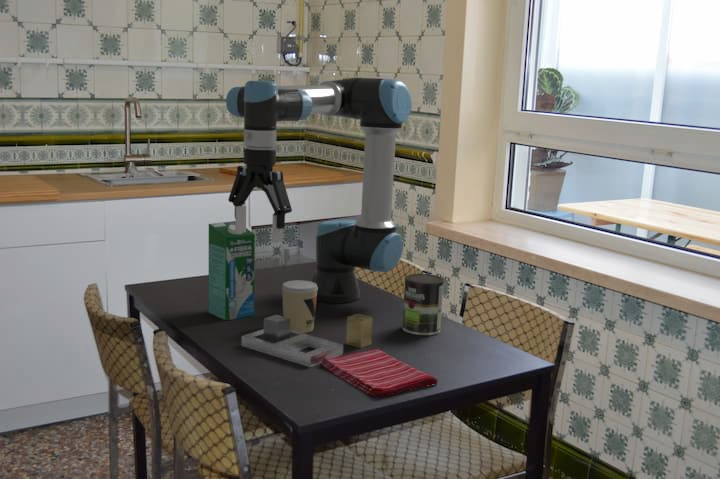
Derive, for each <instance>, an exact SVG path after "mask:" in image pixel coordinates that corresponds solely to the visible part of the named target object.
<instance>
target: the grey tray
mask: <svg viewBox="0 0 720 479" xmlns="http://www.w3.org/2000/svg"><path fill="white" fill-rule="evenodd" d="M241 347H243V348H247V349H250V350H253V351H257V352H260V353H263V354H267V355H270V356H272V357H276V358H279V359H282V360H285V361H288V362H292V363H295V364H298V365H301V366H305V367H307V368H313V367H315V366H318V365H321V364H320V363H322V359H323V358H336V357H341V356H344V344H343V343H342V344H341V343H339V342H335V341H331V340H328V339H325V338H321V337H317V336H314V335H311V334H307V333H301V332H297V331H294V330H290V338H289V339H286V340H283V341H280V342H277V343H270V342H267V341H264V328H263V329H259V330H256V331H253V332H250V333H246V334H244V335H241ZM308 348H311V349H314V350H311V351H308V352H303V351H302V350H304V349H308Z"/></svg>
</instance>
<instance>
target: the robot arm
mask: <svg viewBox="0 0 720 479" xmlns="http://www.w3.org/2000/svg"><path fill="white" fill-rule="evenodd" d="M410 93H411V92H410V90H409V88H408V87H407V86H406V84H405V83H404V82H403V81H401V80H398V79H392V78H374V77H371V78H369V77H368V78H367V77H350V78H343V79H342V78H341V79H335V80H334V79H333V80H325V81H322V82H320V83H319V84H310V85H309V84H308V85H307V84H306V85H302V84H301V85H280V86H279V85H278V84H277V83H276V81H274V80H273V81H272V80H269V81H268V80H247V81H246V83H245V85H244V86H242V85H241V86H233V87H232V88H231V89H229V91H228V92H227V94H226V97H225V98H226V99H225V106H226V108H227V111H228V113H230V114H231V116H233V117H238V118H239V117H240V118H243V124H244V125H243V130H244V131H243V145H244V146H245V147H246V148H244V149H243V164H244V165H237V168H236V176H235V179H234V181H233V184H232V187H231V190H230V193H229V196H228V202H229V203H232V204H233V206H234V221H235V233H243V232H246V228H247V205H246V204H247V203H246V201H247V200H248V198H249V196H250V195H251V193H252V191H253V190H254V189H255V188H257V189H261V190H262V191H263V192H264V193H265V195H266V198H267V199H268V201H269V203H270V206H271V207H272V209H273V211H274V213H273V214H272V224H271V225H272V228H271V229H272V233H271V234H272V235H271V236H272V237H271V239H272V240H271V242H272V243H274V244H275V243H281V242H284V229H285V227H286V224H285V222H286V215H287V214H290V213H292V211H293V209H292V206H291V202H290V199H289V196H288V191H287V189H286V185H285V181H284V173H283V171H282V170H279V171H274V166H275V165H276V163H277V150H276V149H275V148H276V147H277V123H278V122H298V121H304V120H306V119H308V118H309V117H310V116H311V114H321V115H323V116H328V117H329V116H330V117H332V116H335V117H342V118H347V119H353V120H359V121H360V124H359V128H360V129H361V130H362V131H363V132H364V152H363V170H362V171H363V174H362V193H361V214H360V218H359V219H358V220H355V219H334V220H333V219H332V220H325V221H322V222H320V223H318V225H317V228H316V230H317V231H316V236H315V238H316V241H315V242H316V243H315V247H316V249H315V252H316V253H315V272H314V276H313V277H312V281H311V282H314V283H316V284H317V287H318V290H317V299H316V302H317V301H318V302H320V303H321V302H323V303H330V304H342V303H343V304H345V303H351V302H355V301H357V300H359V299H360V297H361V295H360V294H361V289H360V287H359V283H358V278H357V276H356V268H359V269H364V270H368V271H371V272H377V273H378V272H380V273H388V272H390V271H392V270H393V269H394V268H395V267H396V266H397V265H398V263H399V262H400V260H401V258H402V255H403V251H404V240H403V237H402V236H401V235H400V233H398V232H397V224H396V223H395V222H394V221H393V220H392V211H393V210H392V209H393V208H392V207H393V194H394V193H393V192H394V175H395V173H394V172H395V154H396V137H397V134H398V133H399V132H400V131H401V130H402V129H403V128H402V127H403V123H405V122H407V121H408V120H409V118H410V115H411V113H412V108H413V107H412V106H413V105H412V103H413V102H412V97H411V94H410Z"/></svg>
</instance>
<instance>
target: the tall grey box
mask: <svg viewBox="0 0 720 479" xmlns="http://www.w3.org/2000/svg"><path fill="white" fill-rule="evenodd" d="M263 329H264V341H267V342H270V343H277V342H280V341H283V340H286V339H289V338H290V318H287V317H283V316H282V315H279V314H273V315H271V316H268V317H264V318H263Z"/></svg>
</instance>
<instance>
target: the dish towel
mask: <svg viewBox="0 0 720 479" xmlns="http://www.w3.org/2000/svg"><path fill="white" fill-rule="evenodd" d="M319 365H321V366H322V367H324V368H325V369H327V371H330V372H331V373H332V374H334V375H336V376H338V377H339V378H340V379H341V380H344V381H346V382H347V383H349V384H351V385H353V386H354V387H356V388H357V387H358V389H359V390H360V389H361V390H360V391H362V390H363V391H362V392H364V393H366V394H368V395H370V396H372V397H373V396H374V397H373V398H375V397H377V398H380V396H382V397H384V396H383V395H387V396H389V395H388V394H391V395H393V394H392V393H396V394H398V393H397V392H401V391H405V392H407V391H406V390H410V389H415V388H419V389H421V388H420V387H423V386H427V385H432V384H436V385H437V384H438V378H436V377H435V376H433V375H430V374H429V373H428V374H427V373H425V372H423V371H421V370H420V369H417V368H415V367H413V366H411V365H410V364H407V363H405V362H403V361H401V360H399V359H396V358H394V357H392V356H391V355H389V354H387V353H386V352H384V351H382V350H381V349H378V348H377V349H372V350H367V351H362V352H361V351H360V352H356V353H352V354H351V353H350V354H348V355H341V356H338V357H336V358H323V359H322V363H320V364H319ZM415 390H416V389H415ZM410 391H411V390H410ZM401 393H402V392H401Z"/></svg>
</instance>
